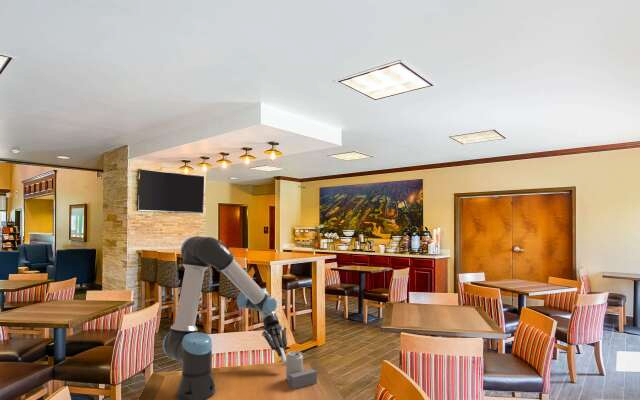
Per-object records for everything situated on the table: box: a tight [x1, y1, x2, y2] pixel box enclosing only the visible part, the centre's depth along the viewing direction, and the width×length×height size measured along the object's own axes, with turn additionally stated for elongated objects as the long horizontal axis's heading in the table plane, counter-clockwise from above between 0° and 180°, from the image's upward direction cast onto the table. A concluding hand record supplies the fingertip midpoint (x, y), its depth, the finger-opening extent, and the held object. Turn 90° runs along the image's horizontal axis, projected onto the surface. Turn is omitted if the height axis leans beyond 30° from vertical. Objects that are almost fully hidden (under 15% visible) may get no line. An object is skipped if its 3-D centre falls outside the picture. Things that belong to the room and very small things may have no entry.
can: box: [285, 350, 304, 382], centre depth 178 cm, size 8×8×12 cm
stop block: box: [288, 368, 318, 390], centre depth 173 cm, size 12×4×5 cm, turn 124°
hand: (284, 361), depth 187 cm, fingers closed
